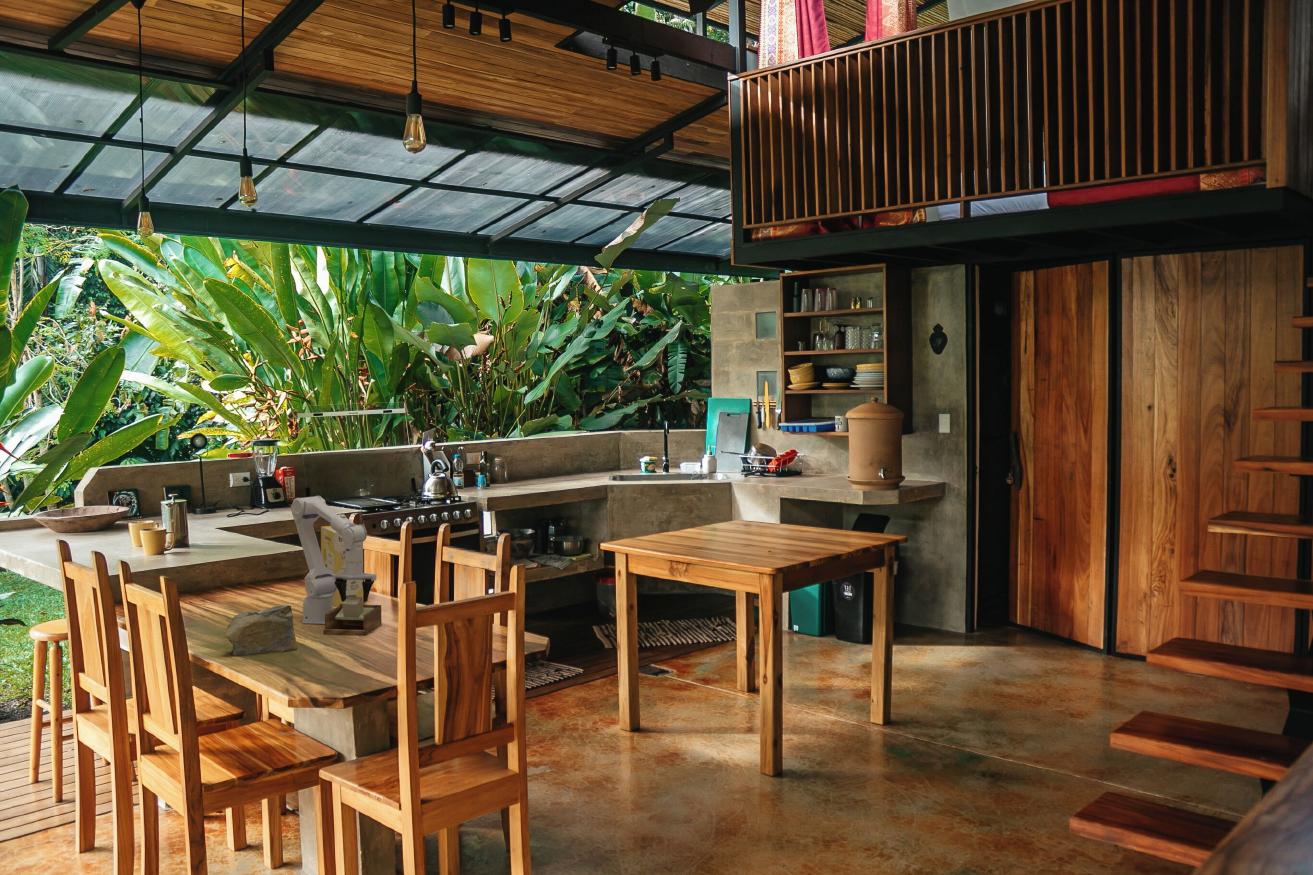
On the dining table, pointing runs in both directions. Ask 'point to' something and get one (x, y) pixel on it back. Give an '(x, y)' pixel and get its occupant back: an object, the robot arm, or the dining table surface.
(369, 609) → the flap
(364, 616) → the frame
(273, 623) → the fossil rock
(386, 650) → the dining table surface
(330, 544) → the pasta box
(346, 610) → the beige cube
